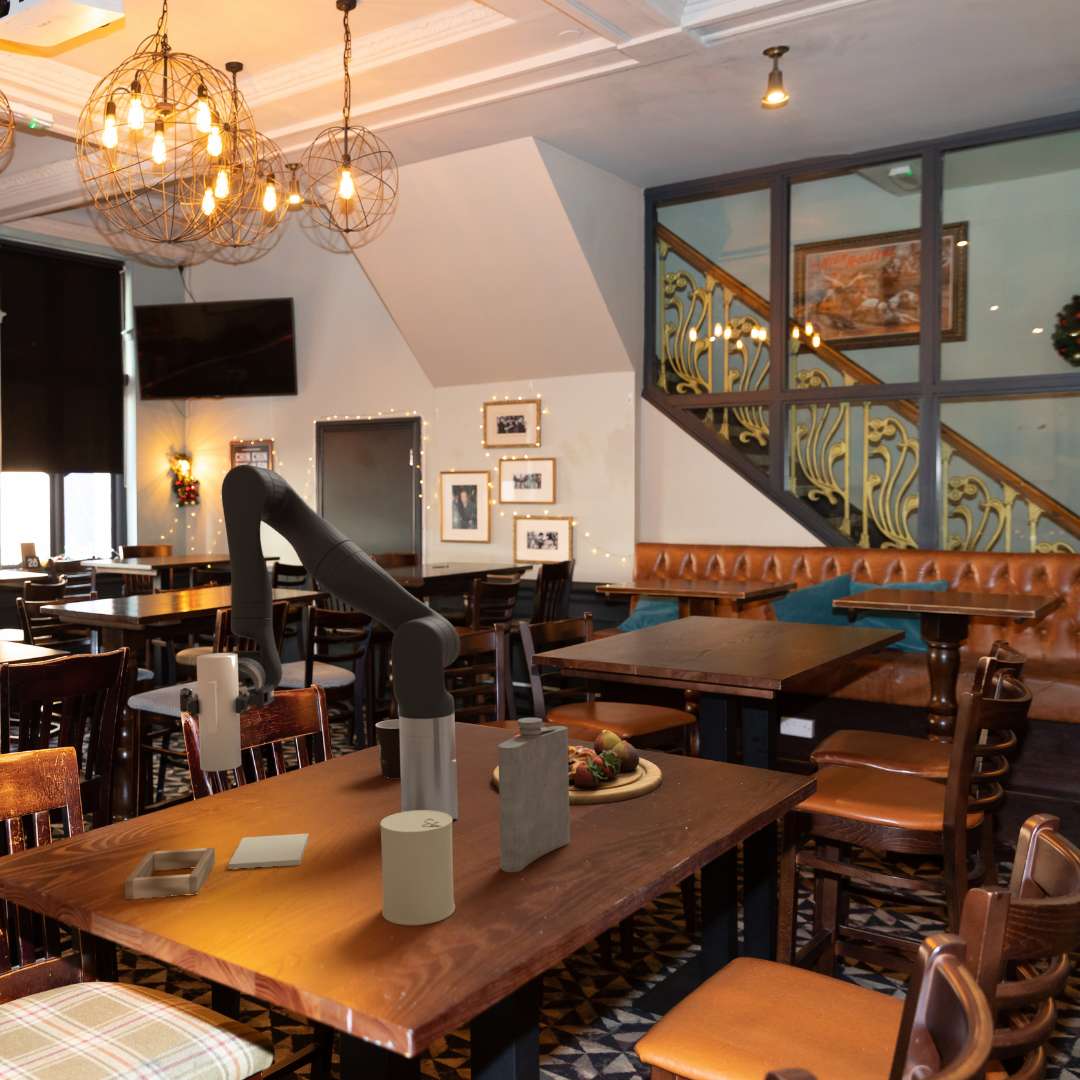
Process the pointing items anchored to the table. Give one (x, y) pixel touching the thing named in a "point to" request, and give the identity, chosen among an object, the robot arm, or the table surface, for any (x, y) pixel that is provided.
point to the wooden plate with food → (606, 772)
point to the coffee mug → (389, 747)
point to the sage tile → (269, 851)
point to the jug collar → (159, 886)
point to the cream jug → (218, 711)
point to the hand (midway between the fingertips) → (216, 707)
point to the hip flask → (533, 793)
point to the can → (417, 867)
